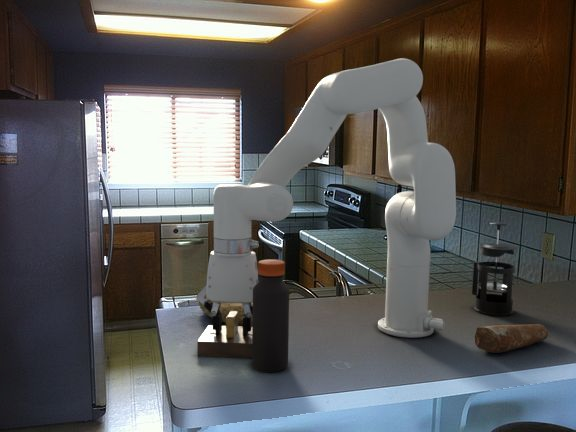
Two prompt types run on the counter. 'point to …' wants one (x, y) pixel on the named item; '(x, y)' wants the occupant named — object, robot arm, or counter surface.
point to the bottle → (270, 318)
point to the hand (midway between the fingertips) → (232, 332)
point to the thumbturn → (231, 324)
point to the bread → (509, 337)
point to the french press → (495, 302)
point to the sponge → (226, 309)
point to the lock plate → (225, 344)
